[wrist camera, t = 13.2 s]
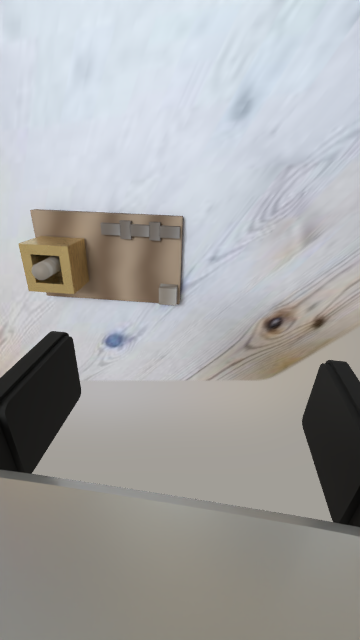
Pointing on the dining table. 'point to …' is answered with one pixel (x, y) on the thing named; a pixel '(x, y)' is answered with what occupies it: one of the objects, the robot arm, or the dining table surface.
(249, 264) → the dining table surface
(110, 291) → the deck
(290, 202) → the dining table surface
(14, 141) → the dining table surface
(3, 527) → the robot arm
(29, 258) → the end link
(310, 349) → the dining table surface
